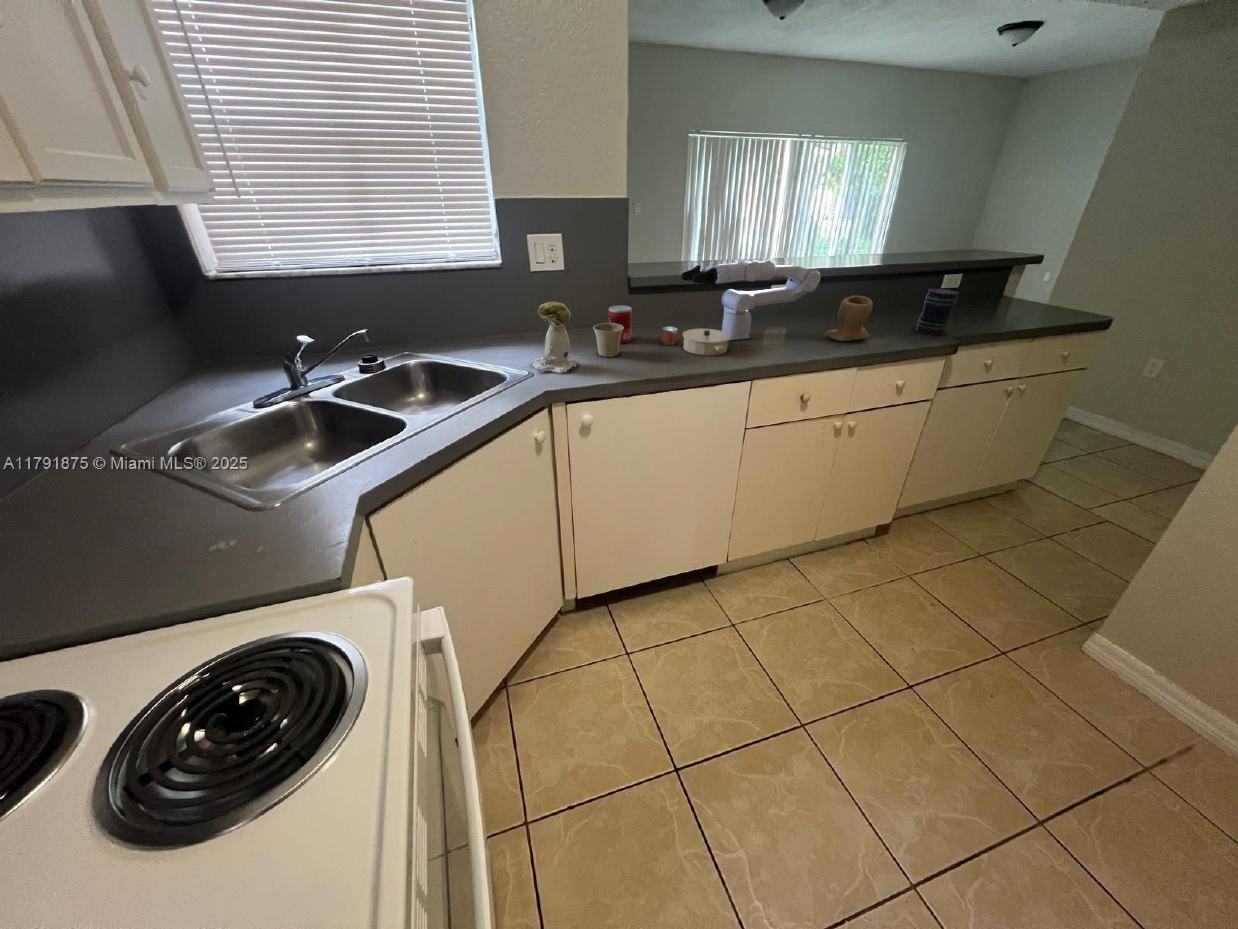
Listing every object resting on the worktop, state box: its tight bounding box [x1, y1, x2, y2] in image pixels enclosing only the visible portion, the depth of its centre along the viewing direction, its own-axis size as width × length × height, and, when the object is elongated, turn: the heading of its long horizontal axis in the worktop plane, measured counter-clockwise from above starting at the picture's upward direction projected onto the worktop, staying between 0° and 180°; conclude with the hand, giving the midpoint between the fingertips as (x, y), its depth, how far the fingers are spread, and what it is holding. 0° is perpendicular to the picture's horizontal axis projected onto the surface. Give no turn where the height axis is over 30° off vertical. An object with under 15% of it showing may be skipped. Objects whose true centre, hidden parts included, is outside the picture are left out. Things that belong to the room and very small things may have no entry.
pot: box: [682, 336, 730, 356], centre depth 161 cm, size 15×20×4 cm
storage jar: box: [915, 287, 960, 336], centre depth 182 cm, size 10×10×15 cm
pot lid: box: [682, 328, 731, 344], centre depth 159 cm, size 16×16×3 cm
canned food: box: [608, 304, 633, 345], centre depth 165 cm, size 8×8×11 cm
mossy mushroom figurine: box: [532, 301, 578, 374], centre depth 139 cm, size 12×13×18 cm
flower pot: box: [592, 322, 623, 358], centre depth 152 cm, size 9×9×9 cm
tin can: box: [661, 326, 678, 346], centre depth 165 cm, size 5×5×5 cm
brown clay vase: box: [825, 295, 873, 342], centre depth 170 cm, size 15×12×15 cm
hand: (687, 277), depth 157 cm, fingers open, 7 cm apart
